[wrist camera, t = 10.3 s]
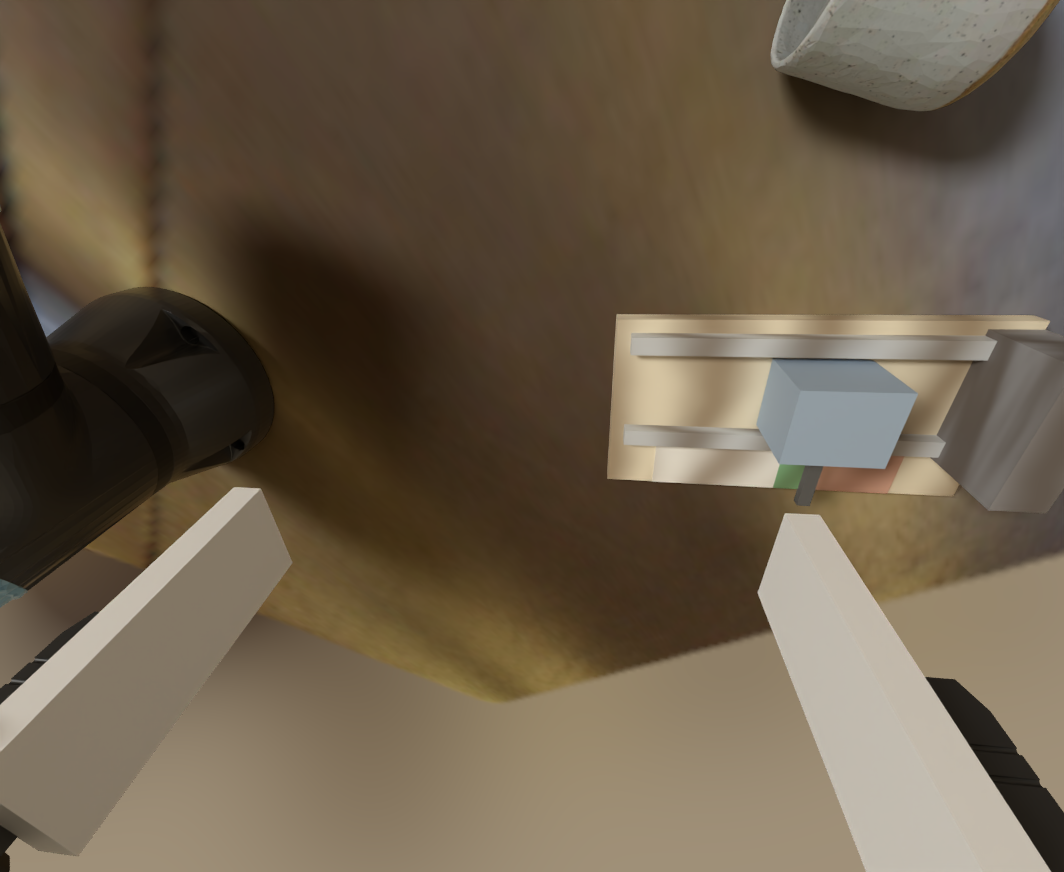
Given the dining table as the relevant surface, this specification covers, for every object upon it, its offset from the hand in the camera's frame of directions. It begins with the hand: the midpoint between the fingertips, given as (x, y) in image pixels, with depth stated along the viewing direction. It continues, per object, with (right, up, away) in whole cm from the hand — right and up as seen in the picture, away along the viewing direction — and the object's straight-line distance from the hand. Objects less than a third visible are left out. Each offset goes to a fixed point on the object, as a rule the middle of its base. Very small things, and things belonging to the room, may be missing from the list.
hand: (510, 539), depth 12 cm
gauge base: (+19, +5, +21) cm, 29 cm away
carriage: (+19, +4, +20) cm, 28 cm away
